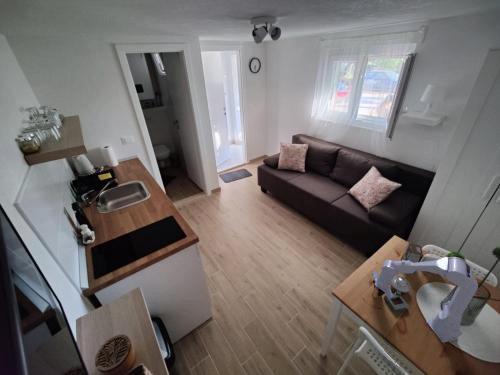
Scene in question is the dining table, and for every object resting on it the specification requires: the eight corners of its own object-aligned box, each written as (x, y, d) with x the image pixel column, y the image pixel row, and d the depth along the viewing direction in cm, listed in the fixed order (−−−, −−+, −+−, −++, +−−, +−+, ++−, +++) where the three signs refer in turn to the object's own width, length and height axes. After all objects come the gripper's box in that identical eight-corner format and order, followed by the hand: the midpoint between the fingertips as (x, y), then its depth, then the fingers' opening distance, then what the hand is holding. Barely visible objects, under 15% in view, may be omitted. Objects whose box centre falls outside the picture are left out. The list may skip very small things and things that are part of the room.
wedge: (381, 296, 120) (385, 289, 116) (374, 298, 119) (377, 290, 116) (378, 292, 122) (382, 285, 118) (371, 294, 121) (374, 286, 118)
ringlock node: (423, 306, 114) (428, 299, 110) (394, 312, 113) (398, 305, 109) (399, 278, 128) (403, 271, 125) (373, 283, 127) (376, 276, 123)
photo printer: (437, 270, 132) (446, 257, 125) (438, 275, 128) (447, 262, 122) (417, 263, 136) (425, 250, 129) (418, 269, 133) (425, 256, 126)
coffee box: (413, 273, 130) (423, 256, 122) (401, 270, 133) (410, 253, 124) (411, 262, 137) (421, 245, 128) (399, 259, 140) (408, 242, 131)
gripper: (369, 268, 118) (363, 282, 125) (387, 292, 105) (379, 307, 113) (380, 266, 118) (374, 280, 126) (400, 290, 106) (391, 304, 114)
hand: (377, 293), depth 119 cm, fingers closed on wedge, 2 cm apart
